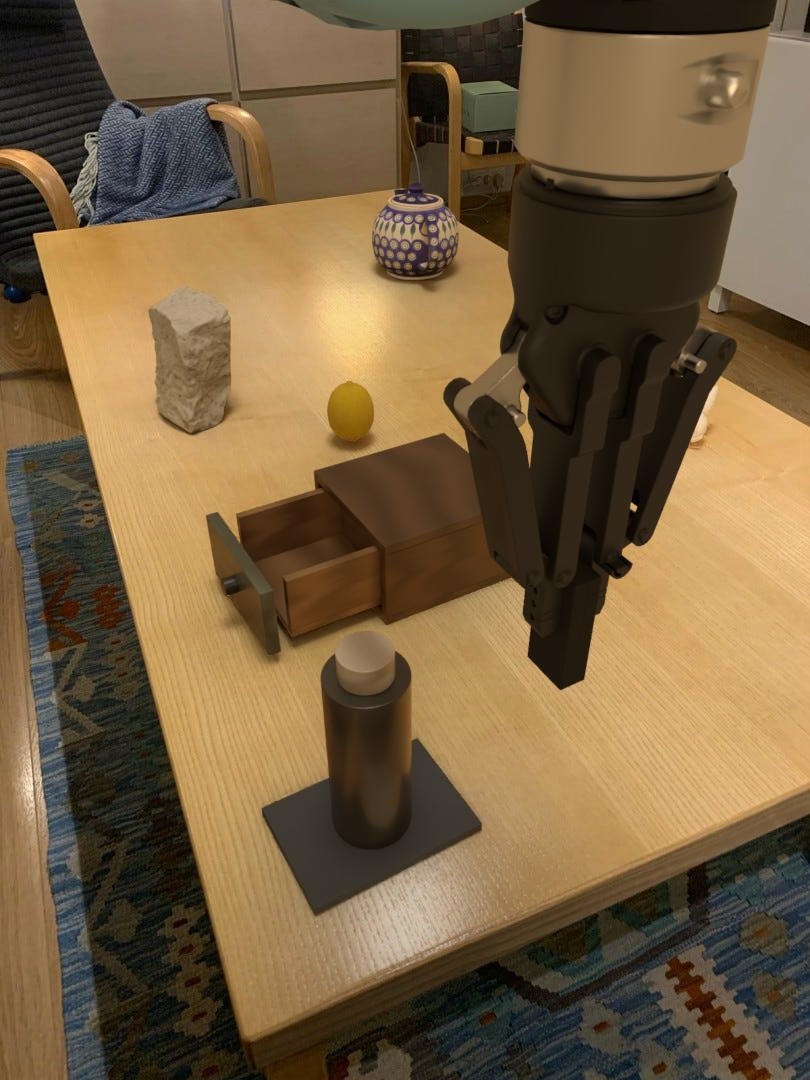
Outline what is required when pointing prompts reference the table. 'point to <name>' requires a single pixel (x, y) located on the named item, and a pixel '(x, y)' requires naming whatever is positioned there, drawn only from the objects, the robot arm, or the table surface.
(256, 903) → the table surface
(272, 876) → the table surface
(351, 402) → the lemon
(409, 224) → the teapot
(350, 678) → the thermos bottle
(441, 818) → the trivet mat
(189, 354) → the decorative stone
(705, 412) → the rabbit figurine
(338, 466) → the cabinet
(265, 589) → the drawer
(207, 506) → the table surface
